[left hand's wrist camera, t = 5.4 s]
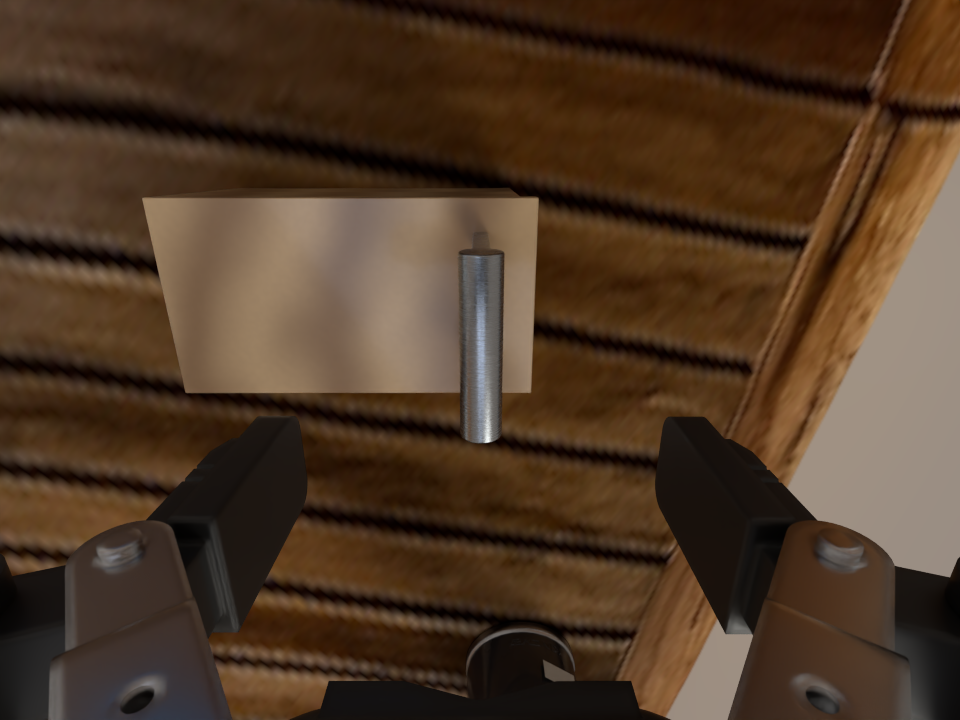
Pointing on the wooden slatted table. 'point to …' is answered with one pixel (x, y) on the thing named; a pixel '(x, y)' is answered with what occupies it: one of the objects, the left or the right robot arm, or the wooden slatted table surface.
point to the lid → (352, 296)
